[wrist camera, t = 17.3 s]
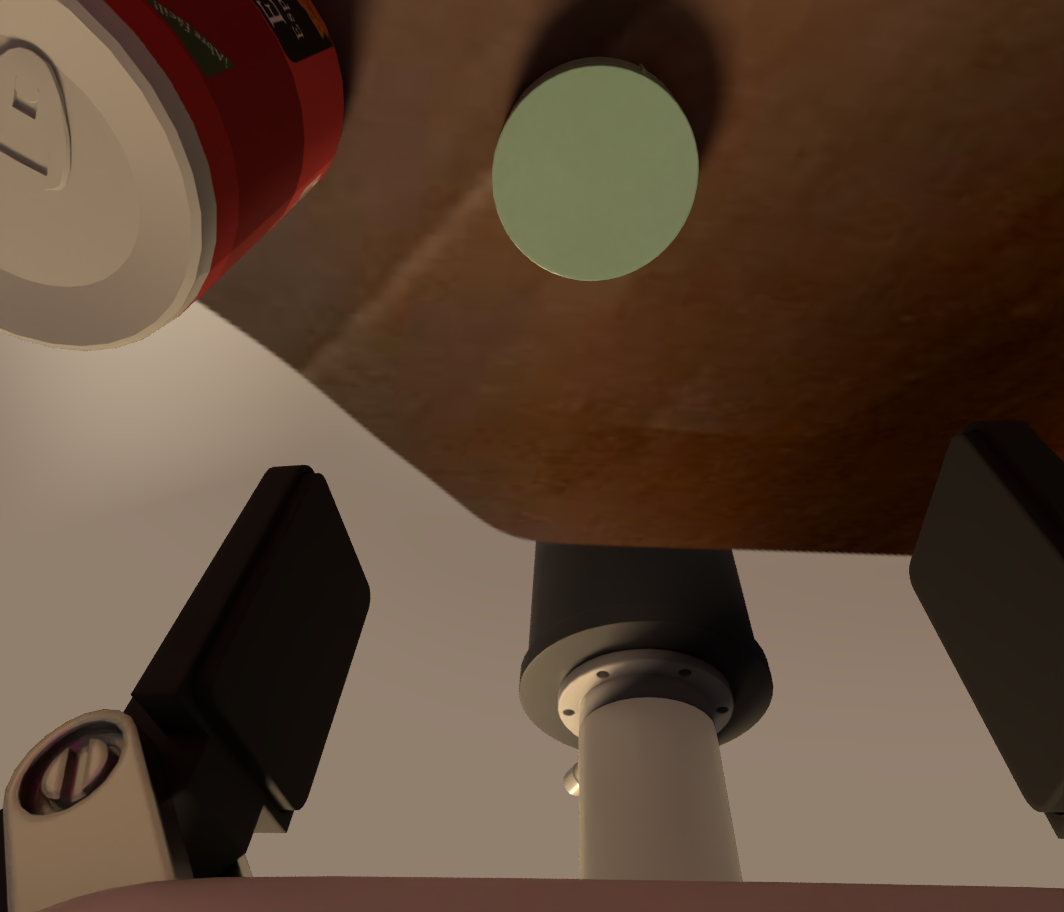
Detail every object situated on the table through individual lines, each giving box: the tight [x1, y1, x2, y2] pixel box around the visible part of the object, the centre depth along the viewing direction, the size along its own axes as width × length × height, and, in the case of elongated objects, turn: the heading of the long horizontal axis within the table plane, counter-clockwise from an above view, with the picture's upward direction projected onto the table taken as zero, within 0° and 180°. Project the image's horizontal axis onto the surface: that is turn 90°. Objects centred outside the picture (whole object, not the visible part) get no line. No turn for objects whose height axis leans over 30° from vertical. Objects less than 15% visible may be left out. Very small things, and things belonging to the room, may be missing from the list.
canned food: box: [0, 0, 344, 351], centre depth 17 cm, size 8×8×11 cm
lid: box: [492, 57, 699, 281], centre depth 22 cm, size 7×7×2 cm
